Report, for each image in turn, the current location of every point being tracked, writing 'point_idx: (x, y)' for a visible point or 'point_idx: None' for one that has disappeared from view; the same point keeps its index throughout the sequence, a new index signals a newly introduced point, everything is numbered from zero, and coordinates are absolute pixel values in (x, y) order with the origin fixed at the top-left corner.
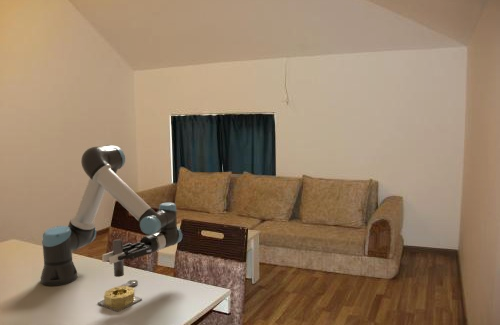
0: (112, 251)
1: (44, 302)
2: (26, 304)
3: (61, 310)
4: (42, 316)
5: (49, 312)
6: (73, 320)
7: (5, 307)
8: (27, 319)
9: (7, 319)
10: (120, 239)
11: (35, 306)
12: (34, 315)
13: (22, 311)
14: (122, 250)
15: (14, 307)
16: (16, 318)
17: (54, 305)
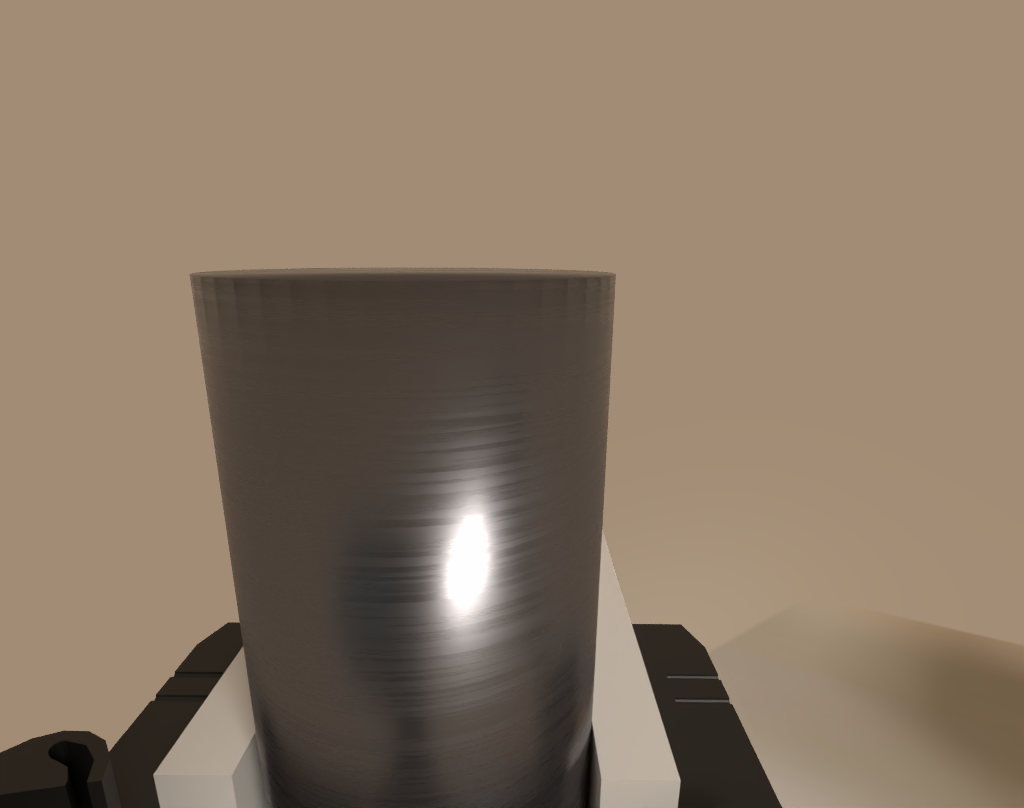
0: (634, 649)
1: (1006, 786)
2: (1009, 709)
3: None
4: (742, 683)
5: (779, 726)
6: None
7: (999, 642)
8: (753, 637)
9: (813, 603)
10: (408, 281)
11: (941, 723)
12: (786, 669)
13: (887, 661)
14: (252, 707)
15: (978, 662)
16: (800, 621)
17: (898, 799)
